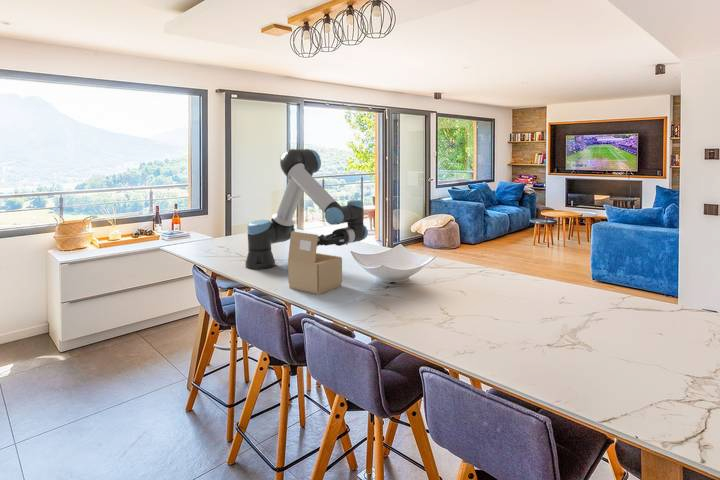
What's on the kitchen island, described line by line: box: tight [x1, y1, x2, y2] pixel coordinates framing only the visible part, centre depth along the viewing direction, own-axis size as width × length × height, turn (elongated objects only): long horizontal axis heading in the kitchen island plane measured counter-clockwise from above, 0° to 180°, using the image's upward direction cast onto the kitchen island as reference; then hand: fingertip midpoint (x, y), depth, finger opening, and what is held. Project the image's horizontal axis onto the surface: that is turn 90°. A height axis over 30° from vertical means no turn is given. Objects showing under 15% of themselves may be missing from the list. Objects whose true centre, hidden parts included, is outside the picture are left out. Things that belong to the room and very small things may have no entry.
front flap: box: [287, 231, 319, 264], centre depth 197 cm, size 15×1×12 cm, turn 54°
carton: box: [287, 252, 343, 295], centre depth 206 cm, size 18×17×13 cm
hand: (307, 244), depth 197 cm, fingers closed
